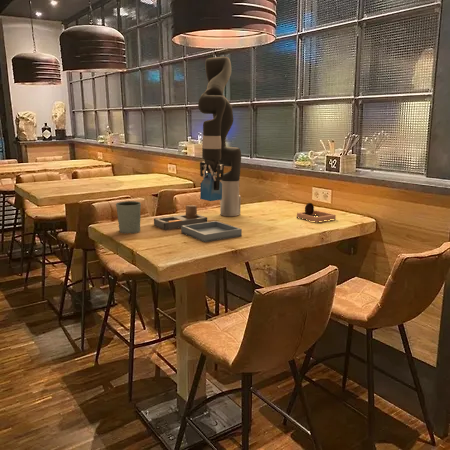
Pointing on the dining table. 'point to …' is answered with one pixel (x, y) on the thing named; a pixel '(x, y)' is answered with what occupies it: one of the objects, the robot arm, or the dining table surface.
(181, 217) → the slot holder
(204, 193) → the perfume bottle
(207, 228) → the tray
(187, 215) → the walnut peg
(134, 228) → the grey cup
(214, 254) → the dining table surface
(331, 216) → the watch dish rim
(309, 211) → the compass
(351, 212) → the dining table surface
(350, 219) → the dining table surface
